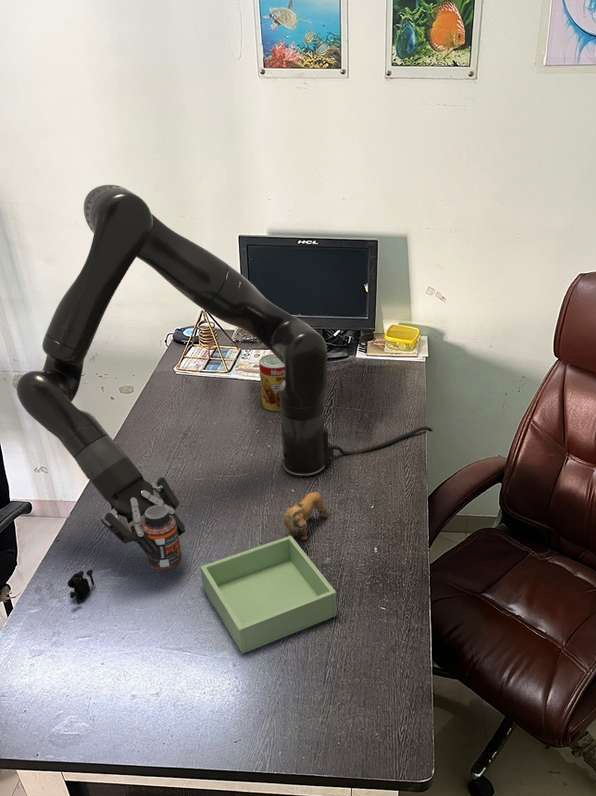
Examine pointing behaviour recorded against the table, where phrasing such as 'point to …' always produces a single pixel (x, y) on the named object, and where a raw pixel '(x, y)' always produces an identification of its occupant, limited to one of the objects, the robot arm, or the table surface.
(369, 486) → the table surface
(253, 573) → the desk bin
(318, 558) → the table surface
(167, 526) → the supplement bottle
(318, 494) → the lion figurine
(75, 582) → the black animal figurine
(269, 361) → the canned food
